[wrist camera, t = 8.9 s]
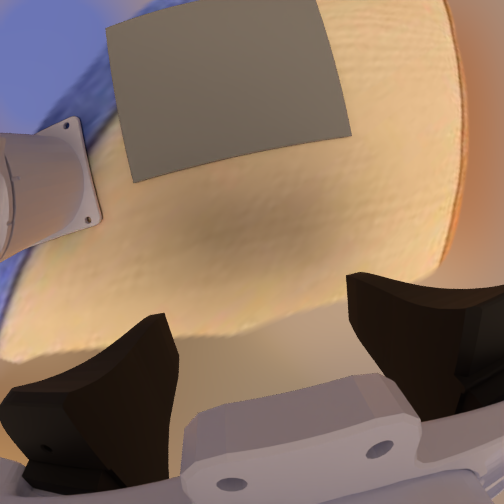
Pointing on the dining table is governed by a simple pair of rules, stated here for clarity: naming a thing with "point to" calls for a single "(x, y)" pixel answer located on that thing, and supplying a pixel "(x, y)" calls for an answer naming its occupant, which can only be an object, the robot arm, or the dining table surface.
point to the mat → (223, 82)
